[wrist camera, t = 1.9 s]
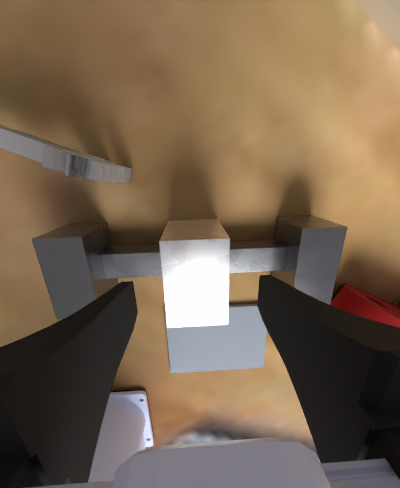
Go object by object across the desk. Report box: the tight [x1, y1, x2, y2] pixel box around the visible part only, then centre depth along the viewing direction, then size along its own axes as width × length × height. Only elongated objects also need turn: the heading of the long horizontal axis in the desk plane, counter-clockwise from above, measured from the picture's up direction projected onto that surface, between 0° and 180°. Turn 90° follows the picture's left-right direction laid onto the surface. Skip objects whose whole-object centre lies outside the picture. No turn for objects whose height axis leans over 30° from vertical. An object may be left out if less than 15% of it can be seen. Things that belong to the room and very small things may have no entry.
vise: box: [32, 215, 347, 319], centre depth 15 cm, size 6×20×4 cm, turn 91°
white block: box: [159, 219, 230, 328], centre depth 15 cm, size 6×4×6 cm, turn 1°
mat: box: [165, 303, 267, 373], centre depth 20 cm, size 8×10×1 cm
